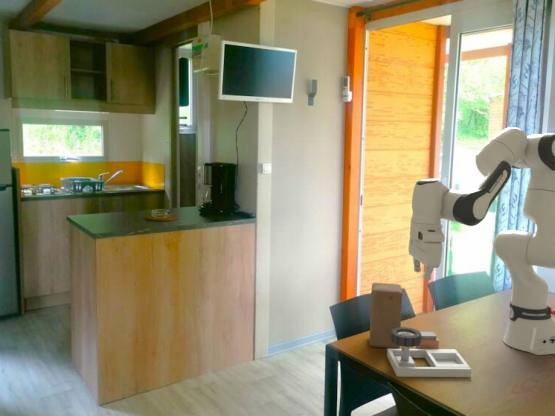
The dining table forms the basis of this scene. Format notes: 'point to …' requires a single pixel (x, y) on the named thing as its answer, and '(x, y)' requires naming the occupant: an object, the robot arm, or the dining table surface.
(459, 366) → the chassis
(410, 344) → the wheel
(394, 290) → the wooden block
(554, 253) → the robot arm
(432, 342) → the two-tone grey-capped cube
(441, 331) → the dining table surface
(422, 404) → the dining table surface
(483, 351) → the dining table surface
